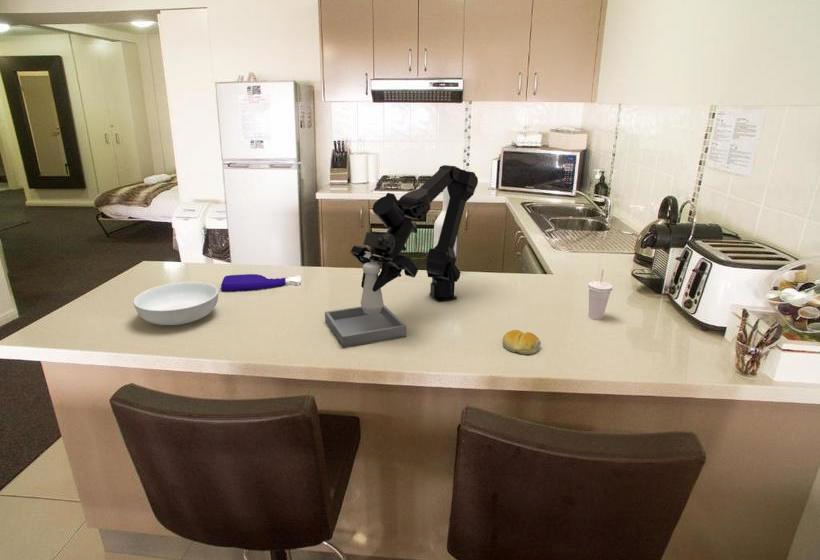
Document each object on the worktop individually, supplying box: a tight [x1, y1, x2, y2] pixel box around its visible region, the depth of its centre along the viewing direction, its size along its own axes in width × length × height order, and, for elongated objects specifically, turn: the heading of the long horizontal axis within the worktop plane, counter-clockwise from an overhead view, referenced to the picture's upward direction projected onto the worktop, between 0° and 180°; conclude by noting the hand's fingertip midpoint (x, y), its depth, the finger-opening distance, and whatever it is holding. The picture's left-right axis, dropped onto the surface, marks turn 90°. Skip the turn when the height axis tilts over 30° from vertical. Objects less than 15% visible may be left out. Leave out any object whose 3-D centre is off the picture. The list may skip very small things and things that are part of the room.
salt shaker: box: [360, 262, 385, 315], centre depth 124 cm, size 6×6×13 cm
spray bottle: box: [220, 273, 302, 293], centre depth 160 cm, size 3×11×24 cm
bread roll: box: [502, 329, 542, 355], centre depth 121 cm, size 8×9×4 cm
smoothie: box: [587, 268, 613, 321], centre depth 137 cm, size 6×6×14 cm
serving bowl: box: [132, 281, 219, 326], centre depth 134 cm, size 21×21×7 cm
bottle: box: [432, 187, 458, 266], centre depth 171 cm, size 8×8×30 cm
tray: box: [324, 303, 407, 349], centre depth 129 cm, size 17×17×3 cm
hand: (368, 289), depth 123 cm, fingers closed on salt shaker, 3 cm apart
